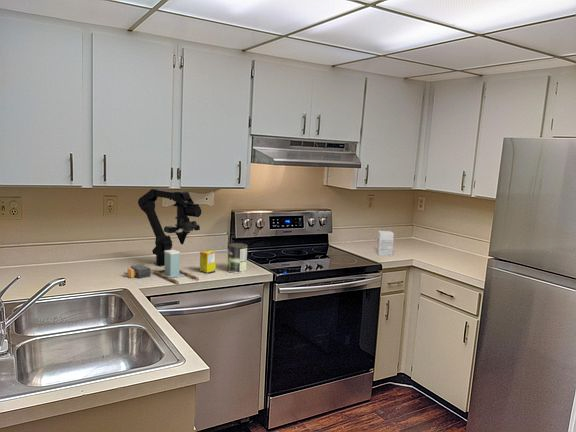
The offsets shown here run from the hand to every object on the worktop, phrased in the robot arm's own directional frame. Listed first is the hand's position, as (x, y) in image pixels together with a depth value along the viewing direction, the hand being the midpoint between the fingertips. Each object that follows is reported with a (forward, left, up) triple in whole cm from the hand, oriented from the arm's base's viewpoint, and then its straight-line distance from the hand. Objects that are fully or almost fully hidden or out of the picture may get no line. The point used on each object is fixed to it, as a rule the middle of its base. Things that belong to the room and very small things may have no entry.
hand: (182, 244), depth 247 cm
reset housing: (+1, -24, -13) cm, 27 cm away
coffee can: (+21, +21, -13) cm, 32 cm away
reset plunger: (+1, -26, -13) cm, 29 cm away
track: (+13, -11, -13) cm, 21 cm away
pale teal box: (+9, -11, -12) cm, 19 cm away
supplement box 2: (+43, +124, -13) cm, 132 cm away
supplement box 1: (+14, +7, -13) cm, 20 cm away
